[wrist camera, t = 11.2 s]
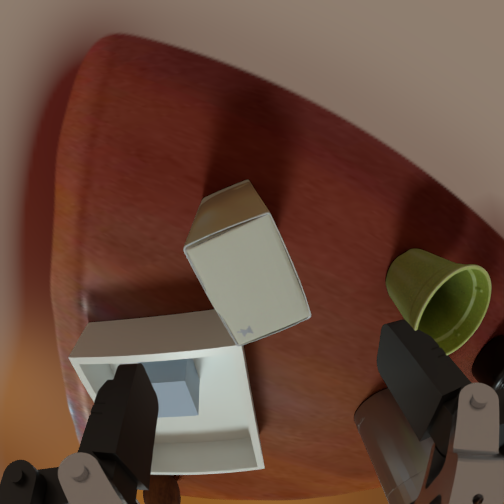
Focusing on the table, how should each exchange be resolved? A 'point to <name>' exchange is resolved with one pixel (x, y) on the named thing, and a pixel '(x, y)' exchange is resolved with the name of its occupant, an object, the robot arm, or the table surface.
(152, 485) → the wooden figurine
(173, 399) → the cube
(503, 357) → the ink bottle
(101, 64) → the table surface
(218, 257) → the skincare box
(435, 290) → the plant pot
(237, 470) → the tote
